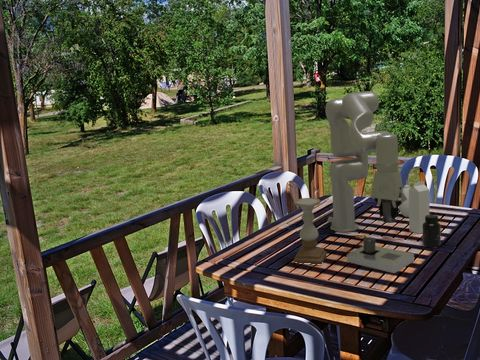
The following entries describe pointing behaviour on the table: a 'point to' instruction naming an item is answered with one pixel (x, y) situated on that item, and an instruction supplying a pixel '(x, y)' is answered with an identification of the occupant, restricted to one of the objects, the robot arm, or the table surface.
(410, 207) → the milk
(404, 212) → the sauce bottle
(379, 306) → the table surface
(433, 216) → the supplement bottle
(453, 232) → the table surface
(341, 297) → the table surface
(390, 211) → the dark grey cylinder
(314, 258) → the candle holder
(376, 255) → the jig
